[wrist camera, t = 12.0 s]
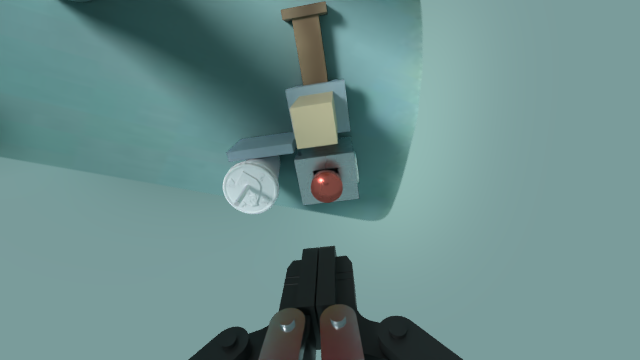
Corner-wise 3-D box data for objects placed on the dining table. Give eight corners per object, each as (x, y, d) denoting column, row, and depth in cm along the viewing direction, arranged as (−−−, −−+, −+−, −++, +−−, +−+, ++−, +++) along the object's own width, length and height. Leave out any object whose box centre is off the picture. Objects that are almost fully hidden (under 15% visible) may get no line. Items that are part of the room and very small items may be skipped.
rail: (307, 142, 42) (306, 147, 39) (284, 12, 35) (280, 9, 33) (343, 137, 41) (343, 142, 39) (326, 4, 35) (325, 1, 33)
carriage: (243, 147, 42) (212, 179, 31) (229, 96, 39) (190, 113, 29) (350, 132, 40) (355, 160, 30) (343, 77, 38) (346, 88, 27)
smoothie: (282, 135, 41) (259, 173, 29) (294, 177, 44) (277, 230, 31) (239, 145, 42) (197, 186, 29) (253, 185, 45) (220, 240, 32)
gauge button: (317, 179, 41) (313, 204, 35) (312, 155, 40) (308, 175, 33) (343, 176, 41) (344, 200, 34) (339, 151, 40) (340, 171, 33)
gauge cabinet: (307, 182, 44) (303, 205, 38) (300, 143, 42) (293, 160, 35) (357, 176, 43) (361, 198, 37) (353, 136, 41) (356, 152, 35)
